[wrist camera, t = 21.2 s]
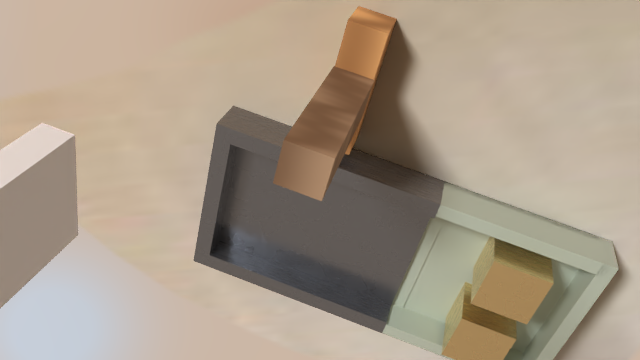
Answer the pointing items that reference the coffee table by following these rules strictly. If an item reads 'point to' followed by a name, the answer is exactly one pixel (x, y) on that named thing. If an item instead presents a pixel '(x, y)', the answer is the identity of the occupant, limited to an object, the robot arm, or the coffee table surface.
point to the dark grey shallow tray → (312, 223)
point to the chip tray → (463, 252)
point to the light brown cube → (510, 280)
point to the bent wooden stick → (335, 108)
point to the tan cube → (476, 331)
